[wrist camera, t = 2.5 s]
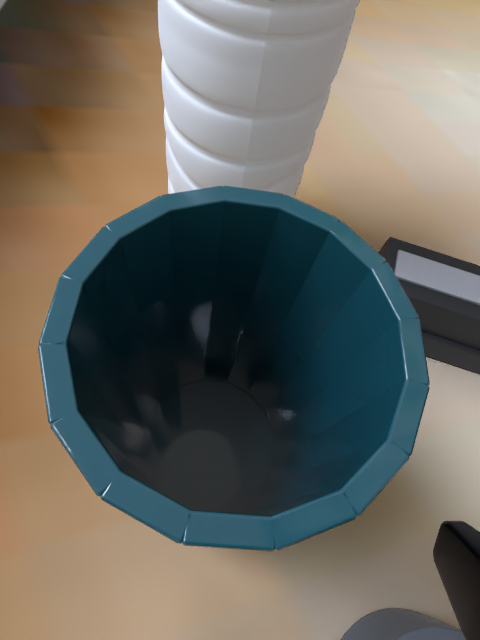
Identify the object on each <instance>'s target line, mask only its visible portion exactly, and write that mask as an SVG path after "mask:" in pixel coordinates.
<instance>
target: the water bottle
mask: <svg viewBox="0 0 480 640" xmlns="http://www.w3.org/2000/svg"><path fill="white" fill-rule="evenodd" d="M359 2H360V0H158V23H159V37H160V45H161V50H162V53H163V56H162V89H163V98H164V103H165V108H164V124H165V131H166V160H167V169H168V175H169V176H168V194H172V193H178V192H184V191H190V190H196V189H202V188H208V187H214V186H222V187H223V186H225V185H226V186H233V187H240V188H247V189H255V190H262V191H269V192H276V193H282V194H283V195H288V196H290V197H293V198H294V195H295V193H296V191H297V189H298V187H299V184H300V181H301V178H302V174H303V170H304V164H305V163H306V161H307V159H308V157H309V154H310V151H311V148H312V145H313V142H314V138H315V131H316V129H317V128H318V125H319V123H320V121H321V118H322V116H323V113H324V110H325V107H326V104H327V100H328V97H329V93H330V87H331V83H332V81H333V79H334V78H335V75H336V73H337V71H338V68H339V65H340V63H341V60H342V57H343V54H344V51H345V48H346V44H347V40H348V37H349V34H350V30H351V27H352V24H353V20H354V16H355V10H356V7H357V6H358V4H359Z"/></svg>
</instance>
